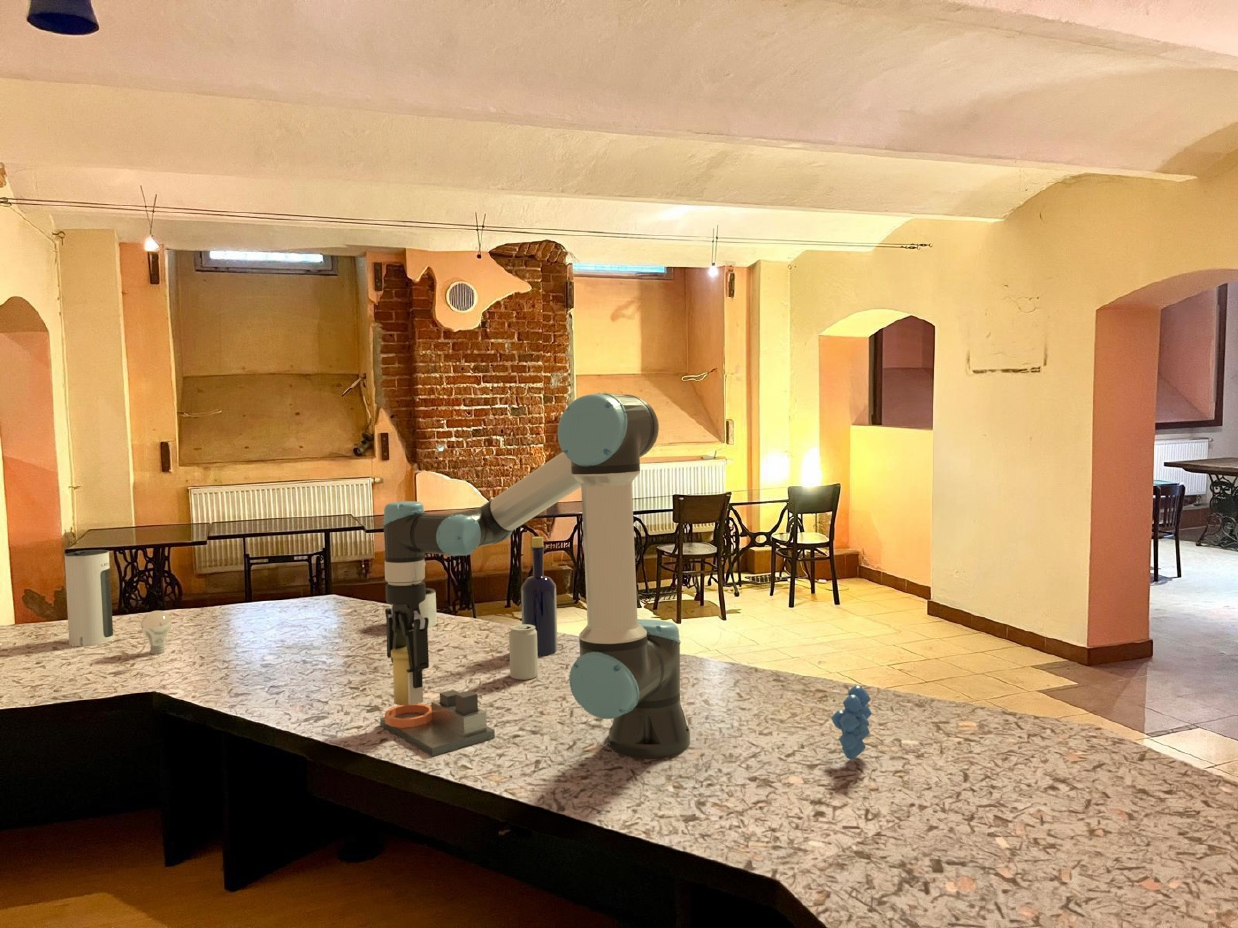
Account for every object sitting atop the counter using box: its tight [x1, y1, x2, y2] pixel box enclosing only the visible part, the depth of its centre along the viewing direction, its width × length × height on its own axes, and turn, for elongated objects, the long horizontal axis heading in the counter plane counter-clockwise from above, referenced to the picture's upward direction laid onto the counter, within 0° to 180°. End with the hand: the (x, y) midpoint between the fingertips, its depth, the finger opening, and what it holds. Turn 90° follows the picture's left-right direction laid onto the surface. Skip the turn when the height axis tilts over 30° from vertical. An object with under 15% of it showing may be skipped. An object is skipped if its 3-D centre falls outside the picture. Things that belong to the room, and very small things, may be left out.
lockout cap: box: [390, 646, 410, 706], centre depth 166 cm, size 6×6×10 cm
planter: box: [390, 587, 438, 629], centre depth 243 cm, size 12×12×11 cm
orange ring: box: [384, 703, 432, 728], centre depth 166 cm, size 9×9×2 cm
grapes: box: [831, 684, 872, 761], centre depth 149 cm, size 12×7×12 cm, turn 149°
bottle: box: [520, 536, 558, 657], centre depth 215 cm, size 9×9×30 cm
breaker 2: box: [455, 690, 479, 715], centre depth 160 cm, size 3×3×4 cm
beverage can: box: [508, 623, 539, 681], centre depth 197 cm, size 6×6×12 cm
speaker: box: [64, 549, 114, 647], centre depth 231 cm, size 11×10×26 cm
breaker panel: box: [379, 699, 496, 757], centre depth 164 cm, size 21×13×5 cm, turn 41°
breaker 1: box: [439, 689, 460, 707], centre depth 165 cm, size 3×3×4 cm
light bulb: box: [140, 610, 173, 655], centre depth 220 cm, size 7×7×12 cm
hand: (408, 699), depth 166 cm, fingers closed on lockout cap, 5 cm apart
